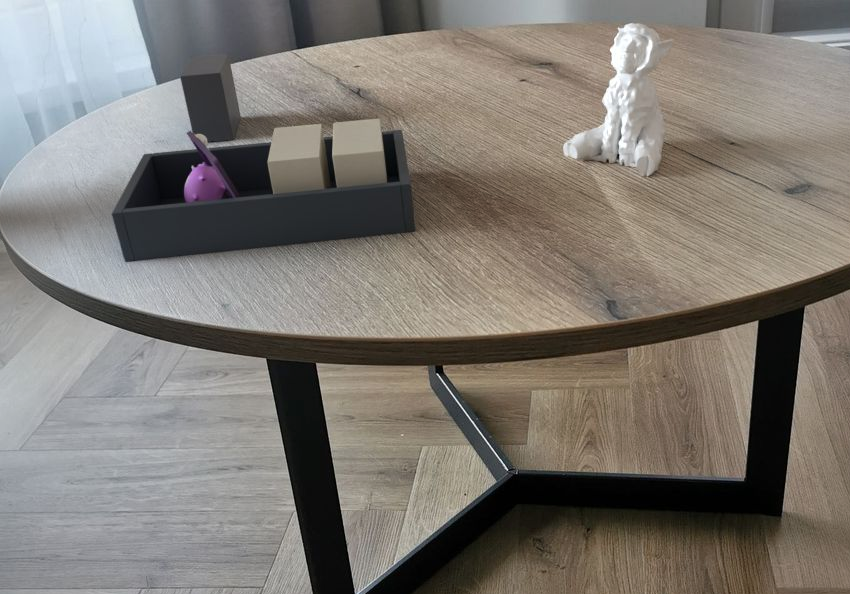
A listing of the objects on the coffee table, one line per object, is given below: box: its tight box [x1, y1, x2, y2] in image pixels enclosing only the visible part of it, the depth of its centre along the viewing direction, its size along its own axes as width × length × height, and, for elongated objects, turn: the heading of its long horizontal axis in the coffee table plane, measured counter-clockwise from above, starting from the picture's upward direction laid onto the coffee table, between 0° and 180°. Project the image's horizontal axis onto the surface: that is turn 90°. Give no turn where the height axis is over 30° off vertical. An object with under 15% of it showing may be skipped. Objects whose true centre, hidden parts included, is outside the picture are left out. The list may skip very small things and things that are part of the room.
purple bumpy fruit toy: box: [184, 130, 241, 203], centre depth 79 cm, size 7×5×9 cm
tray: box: [111, 129, 416, 263], centre depth 80 cm, size 23×14×5 cm, turn 98°
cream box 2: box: [332, 118, 388, 188], centre depth 80 cm, size 4×8×6 cm, turn 8°
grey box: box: [179, 53, 242, 143], centre depth 102 cm, size 4×8×7 cm, turn 8°
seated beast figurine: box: [562, 22, 675, 177], centre depth 87 cm, size 10×9×12 cm
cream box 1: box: [268, 123, 331, 194], centre depth 80 cm, size 4×8×6 cm, turn 8°
